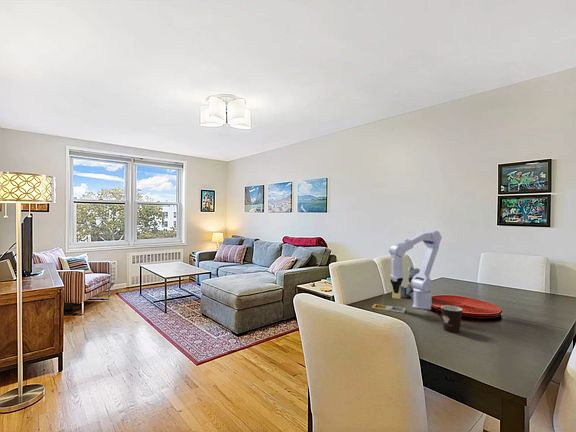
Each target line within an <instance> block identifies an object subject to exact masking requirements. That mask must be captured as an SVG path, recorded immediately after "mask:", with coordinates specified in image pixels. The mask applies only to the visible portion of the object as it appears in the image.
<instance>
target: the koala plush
mask: <svg viewBox="0 0 576 432" xmlns="http://www.w3.org/2000/svg"><path fill="white" fill-rule="evenodd" d="M407 270H408V282H409V284H408V285H407V287H406V288H405V287H404V286H403V285H401V298H403V299H404V298H405V299H411V300H412V302H414V290H413V288H412V287H411V280H412V279H413V278H414V275H416V274H418V273H419V271H420V268H418V267H417V268H416V267H415V268H414V267H412V266H410V265H409V266H408V267H407ZM429 292H431V289H430V290H429Z"/></svg>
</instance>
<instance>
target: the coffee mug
mask: <svg viewBox="0 0 576 432" xmlns="http://www.w3.org/2000/svg"><path fill="white" fill-rule="evenodd" d="M439 309H440V311H441V314H439V311H438V310H439ZM435 311H436V314H437V316H439V318H440V319H441V321H442V325H443V327H442V328H443V331H445V332H447V333H453V334H458V333H460V332H461V325H462V323H461V322H462V316H463V308H462V307H459V306H456V305H448V304H446V305H441V306H437V307H436V309H435Z"/></svg>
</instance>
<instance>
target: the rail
mask: <svg viewBox="0 0 576 432" xmlns="http://www.w3.org/2000/svg"><path fill="white" fill-rule="evenodd" d="M371 309H374V310H380V311H381V310H382V311H388V312H395V313H401V314H405V312H406V311H407V308H406V307H399V306H392V305H384V304H377V303H374V304H373V305H372V306H371Z"/></svg>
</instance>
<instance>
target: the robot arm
mask: <svg viewBox="0 0 576 432" xmlns="http://www.w3.org/2000/svg"><path fill="white" fill-rule="evenodd" d="M441 240H442V235H441V233H440V231H438V230H425V229H423V230H422V231H419V233H418V234H417V235H415V236H414V237H412V238H410V239H409V238H404V239H403V241H401V242H398V243H397V244H396V245H395V244H393V245H391V246H390V248H389V250H388V253H389V254H390V258H391V274H390V273H389V275H388V276H389V277H391V279H390V283H391V287H392V286H393V290H394V293H398V292H399V287H400V284H401V285H402V283H403V280H404V278H403V277H404V276H403V274H404V273H403V271H404V270H403V266H404V265H403V261H404V260H403V259H404V255H405V254H406V253H407V252H408V251H410V250H412V249H413V248H414V246H415V245H417V244H418V243H420V242H423V243H424V245H425V246H426V247H427V249H426V251H425V255H424V258H423V261H422V263H421V267H420V268H419V269H420V271H419V273H418V274H416V275H414V278H413V279H412V280H411V287H412V288H413V290H414V301H413V303H412V308H415V309H422V310H427V311H428V310H430V311H431V310H432V307H431V306H433V302H432V299H433V298H432V297H433V296H432V292H431V288H432V279H431V278H430V274H431V271H432V268H433V265H434V262H435V260H436V257H437V254H438V252H439V248H440V244H441ZM429 290H430V292H429Z"/></svg>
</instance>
